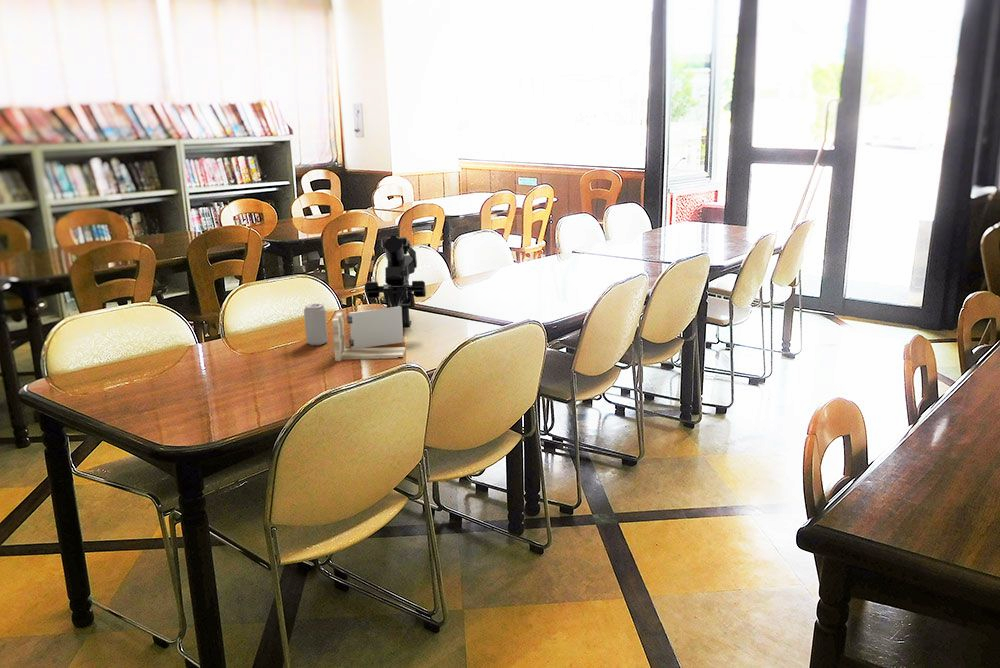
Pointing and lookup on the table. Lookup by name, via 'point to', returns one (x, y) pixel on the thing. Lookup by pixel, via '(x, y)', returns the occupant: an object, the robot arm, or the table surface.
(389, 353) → the cabinet corner
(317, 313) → the beverage can
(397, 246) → the robot arm
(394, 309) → the cabinet door
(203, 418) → the table surface
